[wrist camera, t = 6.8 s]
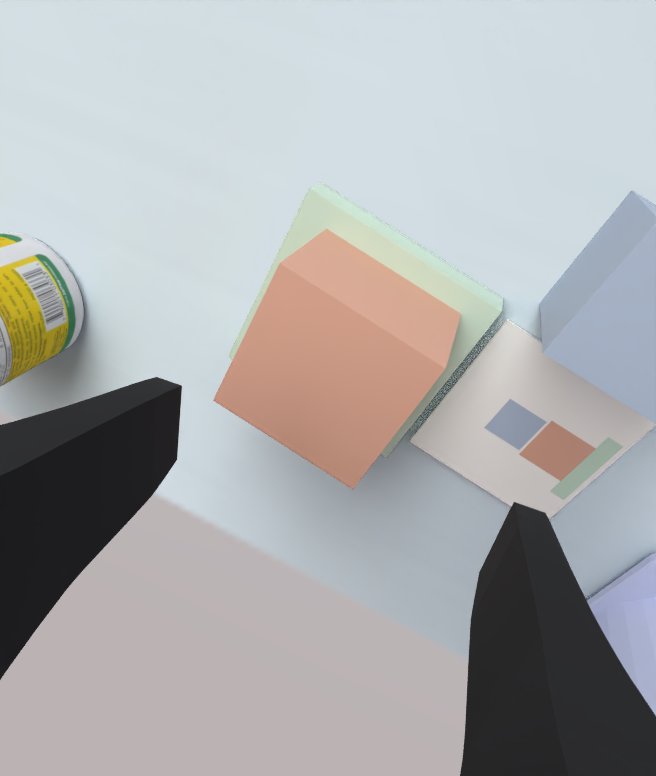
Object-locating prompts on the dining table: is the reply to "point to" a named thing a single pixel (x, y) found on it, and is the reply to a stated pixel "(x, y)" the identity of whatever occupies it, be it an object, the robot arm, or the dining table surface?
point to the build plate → (403, 258)
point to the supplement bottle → (34, 305)
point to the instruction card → (528, 425)
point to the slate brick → (610, 309)
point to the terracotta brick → (338, 356)
